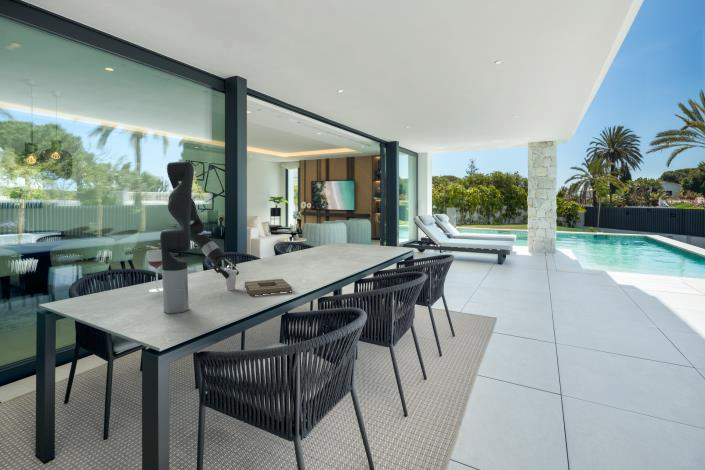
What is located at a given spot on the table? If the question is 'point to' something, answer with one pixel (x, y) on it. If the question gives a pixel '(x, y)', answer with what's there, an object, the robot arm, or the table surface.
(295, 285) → the table surface
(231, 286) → the smoothie
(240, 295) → the table surface
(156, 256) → the wineglass
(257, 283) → the caddy
